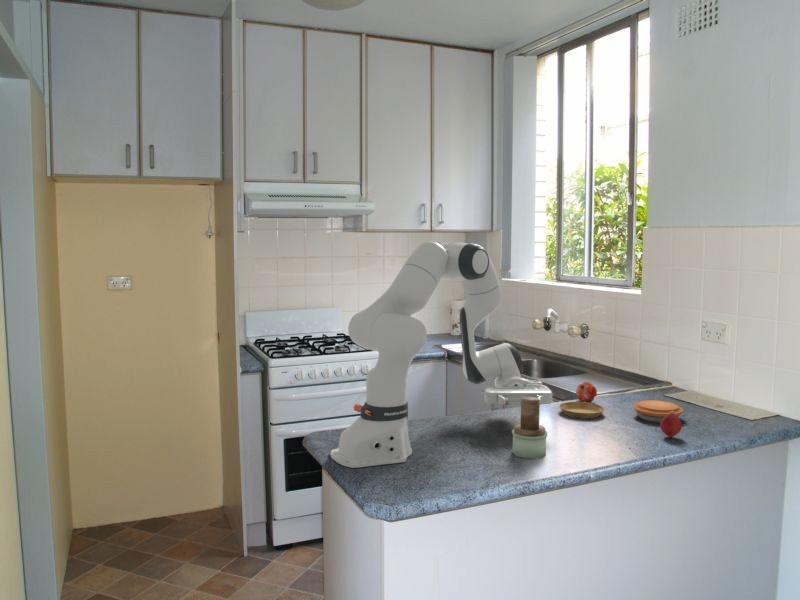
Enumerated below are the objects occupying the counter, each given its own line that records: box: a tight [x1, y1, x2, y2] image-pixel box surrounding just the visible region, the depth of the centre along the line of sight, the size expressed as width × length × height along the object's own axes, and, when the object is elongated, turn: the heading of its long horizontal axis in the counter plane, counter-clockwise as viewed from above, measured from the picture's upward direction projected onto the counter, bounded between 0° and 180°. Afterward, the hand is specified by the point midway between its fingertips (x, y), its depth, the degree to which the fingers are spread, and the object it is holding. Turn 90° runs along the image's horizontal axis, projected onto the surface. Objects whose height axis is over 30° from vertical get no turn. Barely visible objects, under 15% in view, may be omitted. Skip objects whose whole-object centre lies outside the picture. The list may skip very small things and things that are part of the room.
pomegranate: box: [575, 381, 598, 403], centre depth 242 cm, size 7×7×10 cm
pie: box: [632, 399, 684, 424], centre depth 221 cm, size 15×16×5 cm
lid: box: [513, 397, 546, 437], centre depth 185 cm, size 8×8×9 cm
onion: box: [659, 411, 683, 439], centre depth 200 cm, size 6×6×8 cm
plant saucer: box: [558, 401, 606, 419], centre depth 226 cm, size 15×15×3 cm
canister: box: [511, 428, 548, 460], centre depth 186 cm, size 10×10×6 cm
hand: (522, 402), depth 196 cm, fingers open, 8 cm apart
